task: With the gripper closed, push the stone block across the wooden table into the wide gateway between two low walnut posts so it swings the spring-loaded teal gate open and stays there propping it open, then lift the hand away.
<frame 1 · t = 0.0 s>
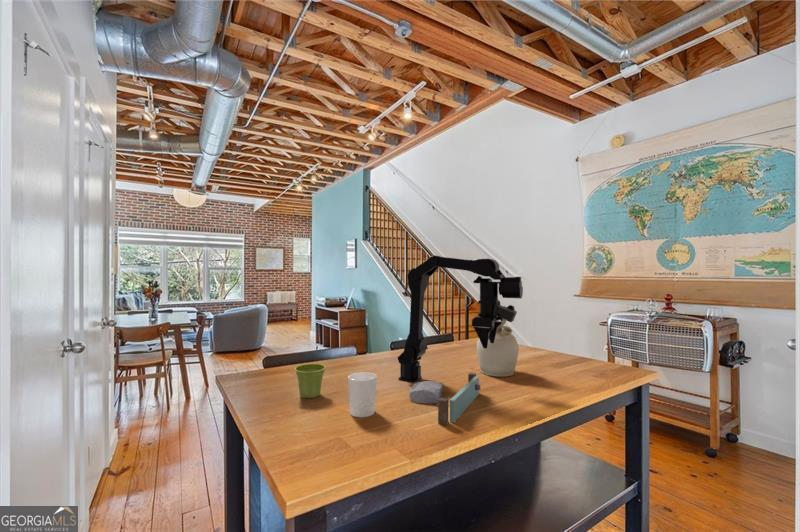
hand: (488, 345, 117), 15 cm above the table, tool pointing down, fingers open, 9 cm apart
stone block: (425, 397, 112), on the table
gate: (467, 397, 103), point 3 cm above the table, hinge at 0.0°
jug: (497, 373, 139), on the table
white cup: (362, 413, 99), on the table
gate frame: (459, 406, 104), on the table
plant pot: (310, 396, 113), on the table
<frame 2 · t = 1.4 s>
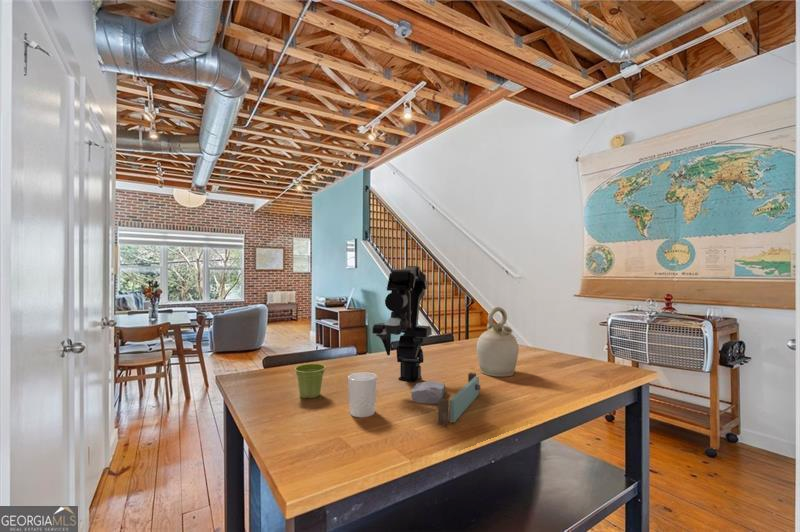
hand: (401, 356, 117), 11 cm above the table, tool pointing down, fingers open, 9 cm apart
nothing on the table moved.
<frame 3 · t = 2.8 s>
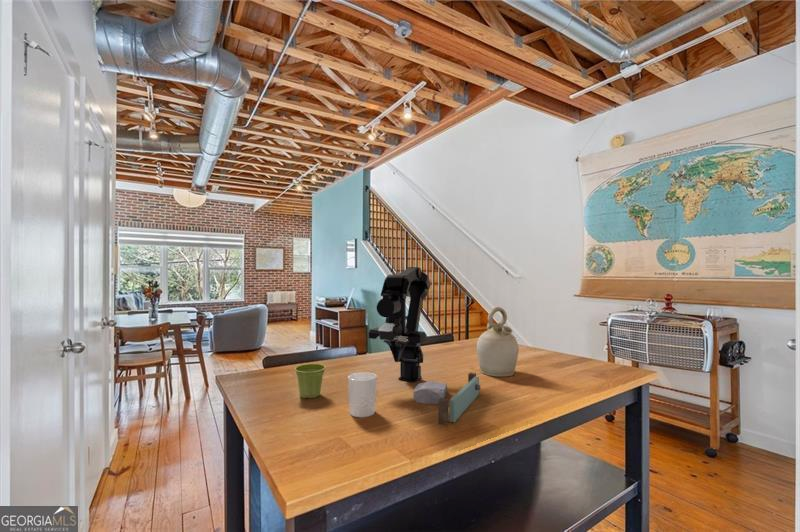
hand: (396, 361, 117), 9 cm above the table, tool pointing down, fingers closed
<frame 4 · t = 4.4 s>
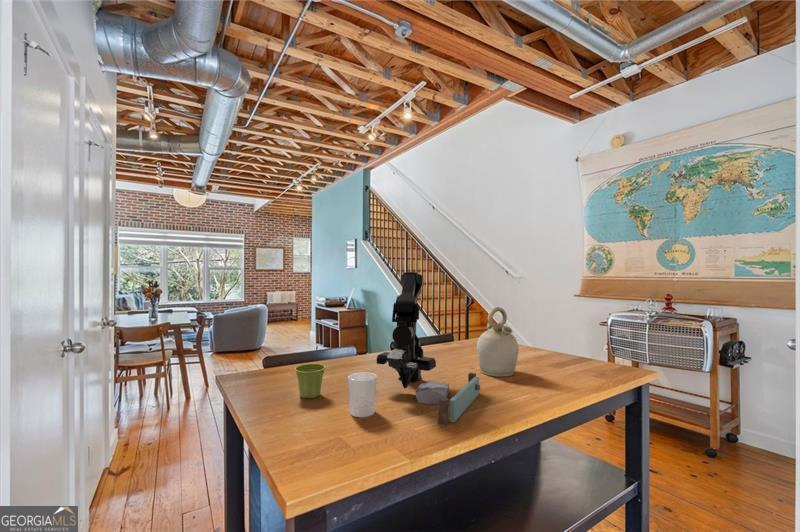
hand: (405, 387, 115), 2 cm above the table, tool pointing down, fingers closed
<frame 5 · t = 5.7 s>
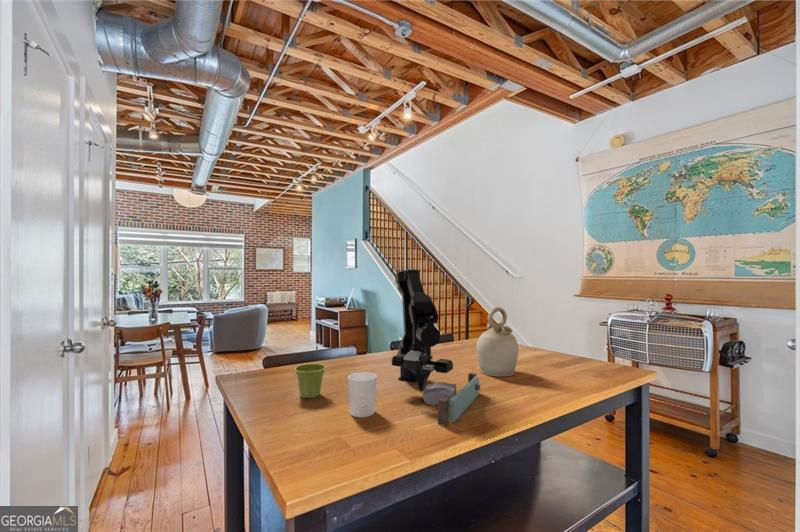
hand: (421, 390, 113), 2 cm above the table, tool pointing down, fingers closed
stone block: (439, 399, 111), on the table
everything else where it was.
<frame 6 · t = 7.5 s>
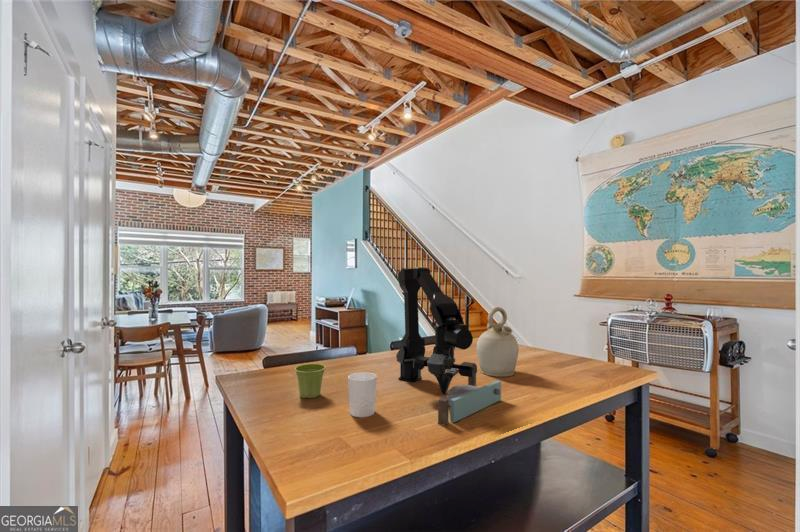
hand: (444, 394, 109), 2 cm above the table, tool pointing down, fingers closed
stone block: (463, 402, 108), on the table, touching gripper
gate: (479, 400, 101), point 3 cm above the table, hinge at 17.9°
everything else where it was.
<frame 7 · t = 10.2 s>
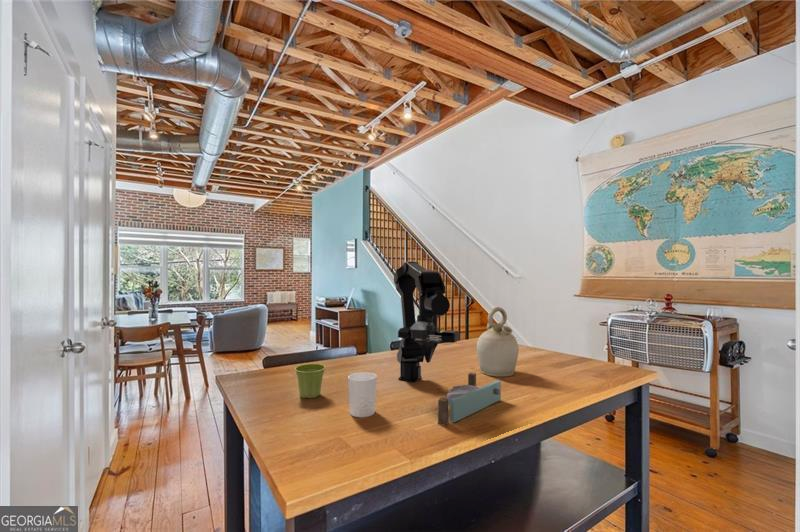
hand: (428, 362, 112), 11 cm above the table, tool pointing down, fingers closed
stone block: (464, 402, 109), on the table
everything else where it was.
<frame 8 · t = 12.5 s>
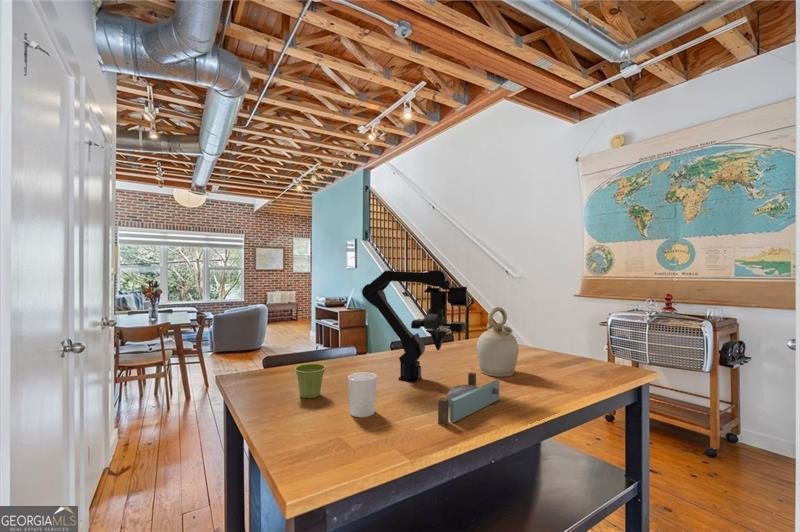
hand: (438, 349, 127), 11 cm above the table, tool pointing down, fingers closed
stone block: (464, 401, 109), on the table, touching gate
gate: (478, 399, 101), point 3 cm above the table, hinge at 16.4°, touching stone block
everything else where it was.
at the end: gate at +16° (first picture: +0°); stone block inside the target area (2.7 cm from its centre), on the table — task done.
